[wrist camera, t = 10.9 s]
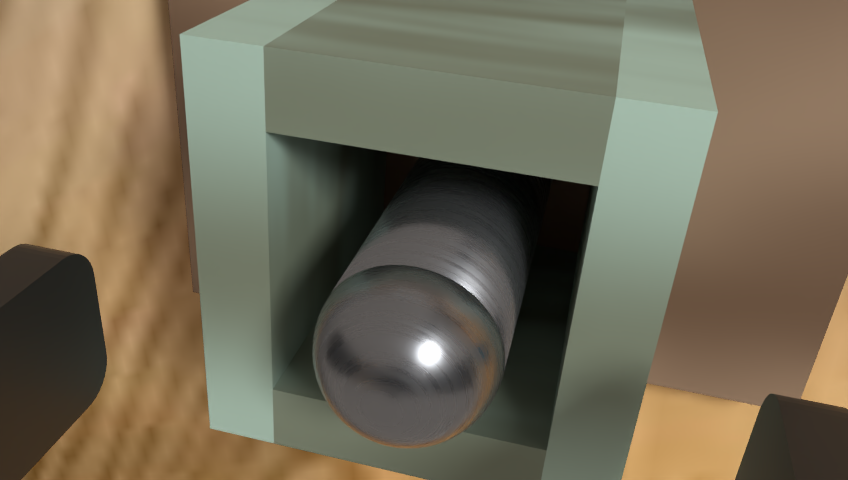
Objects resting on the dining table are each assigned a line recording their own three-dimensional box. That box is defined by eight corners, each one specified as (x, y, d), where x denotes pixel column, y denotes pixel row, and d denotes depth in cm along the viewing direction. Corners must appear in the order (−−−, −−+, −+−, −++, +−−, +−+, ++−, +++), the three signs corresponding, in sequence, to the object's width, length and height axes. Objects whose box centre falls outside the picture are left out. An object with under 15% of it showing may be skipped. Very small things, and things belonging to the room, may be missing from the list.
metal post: (444, 79, 16) (279, 301, 9) (567, 96, 15) (500, 345, 8) (435, 190, 17) (283, 466, 10) (550, 209, 16) (477, 511, 9)
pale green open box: (339, -44, 15) (180, 33, 10) (692, -2, 14) (717, 112, 9) (333, 252, 18) (210, 428, 13) (621, 306, 17) (610, 522, 12)
